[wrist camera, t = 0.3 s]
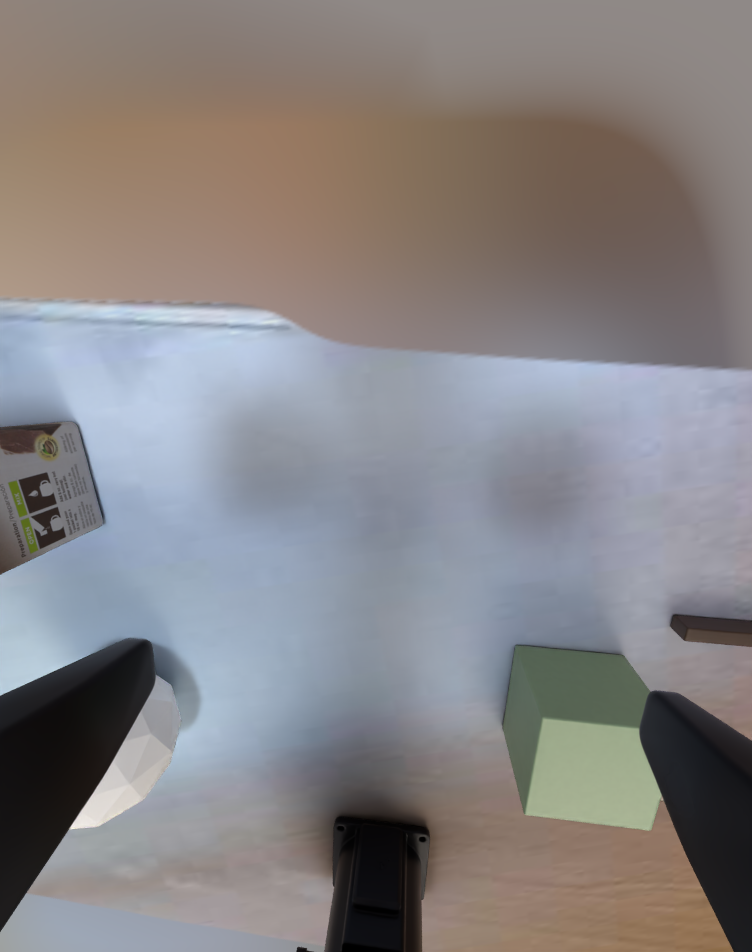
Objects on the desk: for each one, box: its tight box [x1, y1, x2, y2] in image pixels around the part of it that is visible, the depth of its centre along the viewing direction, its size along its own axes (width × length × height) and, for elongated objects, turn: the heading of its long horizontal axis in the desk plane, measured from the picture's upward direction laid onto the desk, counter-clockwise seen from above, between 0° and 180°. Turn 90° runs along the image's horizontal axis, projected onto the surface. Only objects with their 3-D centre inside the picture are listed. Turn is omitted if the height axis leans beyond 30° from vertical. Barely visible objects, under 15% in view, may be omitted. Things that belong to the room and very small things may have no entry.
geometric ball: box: [69, 675, 182, 829], centre depth 23 cm, size 8×8×8 cm
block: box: [503, 645, 662, 831], centre depth 21 cm, size 6×6×5 cm
